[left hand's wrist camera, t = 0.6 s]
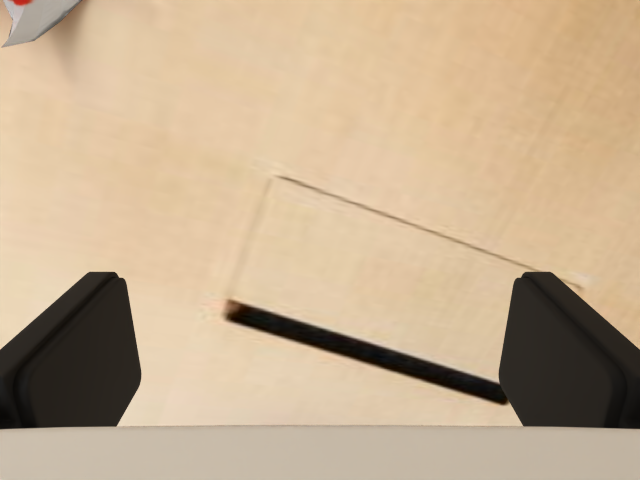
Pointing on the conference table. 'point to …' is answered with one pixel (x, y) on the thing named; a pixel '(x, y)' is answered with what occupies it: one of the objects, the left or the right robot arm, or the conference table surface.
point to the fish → (35, 17)
